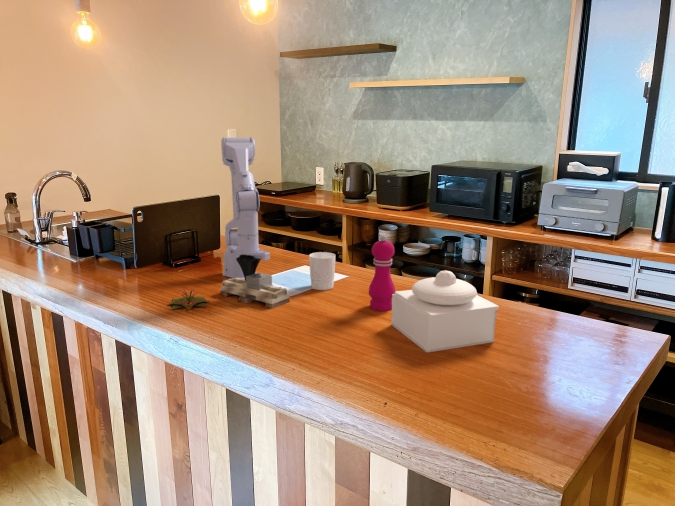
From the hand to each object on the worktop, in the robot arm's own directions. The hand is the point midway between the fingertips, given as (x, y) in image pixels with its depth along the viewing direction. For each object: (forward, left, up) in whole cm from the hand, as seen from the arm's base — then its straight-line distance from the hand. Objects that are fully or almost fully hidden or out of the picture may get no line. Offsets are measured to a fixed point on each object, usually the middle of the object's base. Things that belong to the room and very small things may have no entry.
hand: (249, 281), depth 152 cm
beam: (+2, 0, -5) cm, 5 cm away
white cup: (+11, +20, -5) cm, 23 cm away
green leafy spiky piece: (-9, -14, -5) cm, 18 cm away
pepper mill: (+35, +15, -5) cm, 38 cm away
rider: (+4, 0, -2) cm, 4 cm away
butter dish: (+56, +8, -5) cm, 57 cm away
